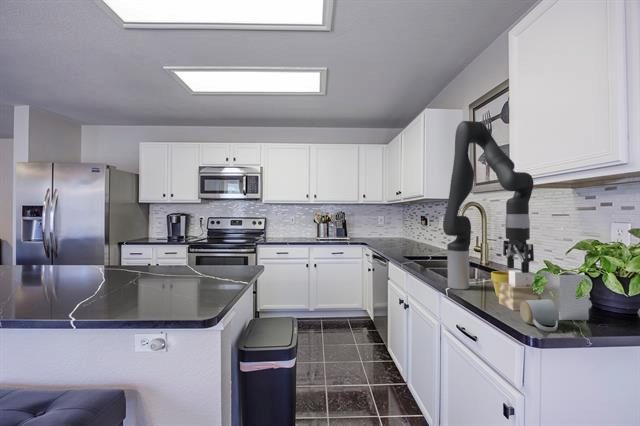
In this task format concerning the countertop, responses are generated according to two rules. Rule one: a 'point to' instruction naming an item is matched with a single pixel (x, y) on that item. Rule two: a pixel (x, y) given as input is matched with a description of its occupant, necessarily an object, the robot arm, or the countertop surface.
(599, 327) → the countertop surface
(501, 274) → the plant pot
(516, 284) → the plug
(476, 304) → the countertop surface
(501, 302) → the wooden box
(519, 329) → the countertop surface
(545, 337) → the countertop surface
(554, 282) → the tall grey box
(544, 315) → the ceramic mug
